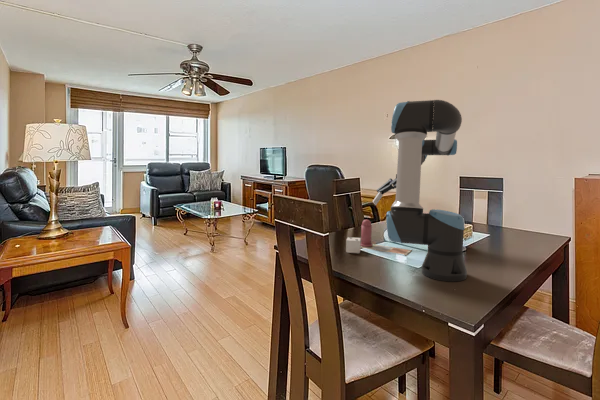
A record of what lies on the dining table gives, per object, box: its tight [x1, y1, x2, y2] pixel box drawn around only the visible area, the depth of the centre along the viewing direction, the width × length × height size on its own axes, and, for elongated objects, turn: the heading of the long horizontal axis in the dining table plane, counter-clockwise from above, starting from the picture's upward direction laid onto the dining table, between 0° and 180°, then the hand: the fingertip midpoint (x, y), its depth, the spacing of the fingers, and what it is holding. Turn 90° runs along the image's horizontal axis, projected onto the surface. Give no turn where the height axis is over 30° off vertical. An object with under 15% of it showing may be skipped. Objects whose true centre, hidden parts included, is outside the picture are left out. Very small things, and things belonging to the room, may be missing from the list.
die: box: [345, 236, 362, 254], centre depth 149 cm, size 6×6×6 cm
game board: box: [361, 243, 413, 257], centre depth 154 cm, size 9×25×1 cm, turn 55°
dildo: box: [360, 218, 374, 247], centre depth 158 cm, size 6×6×13 cm
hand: (383, 205), depth 162 cm, fingers open, 13 cm apart
